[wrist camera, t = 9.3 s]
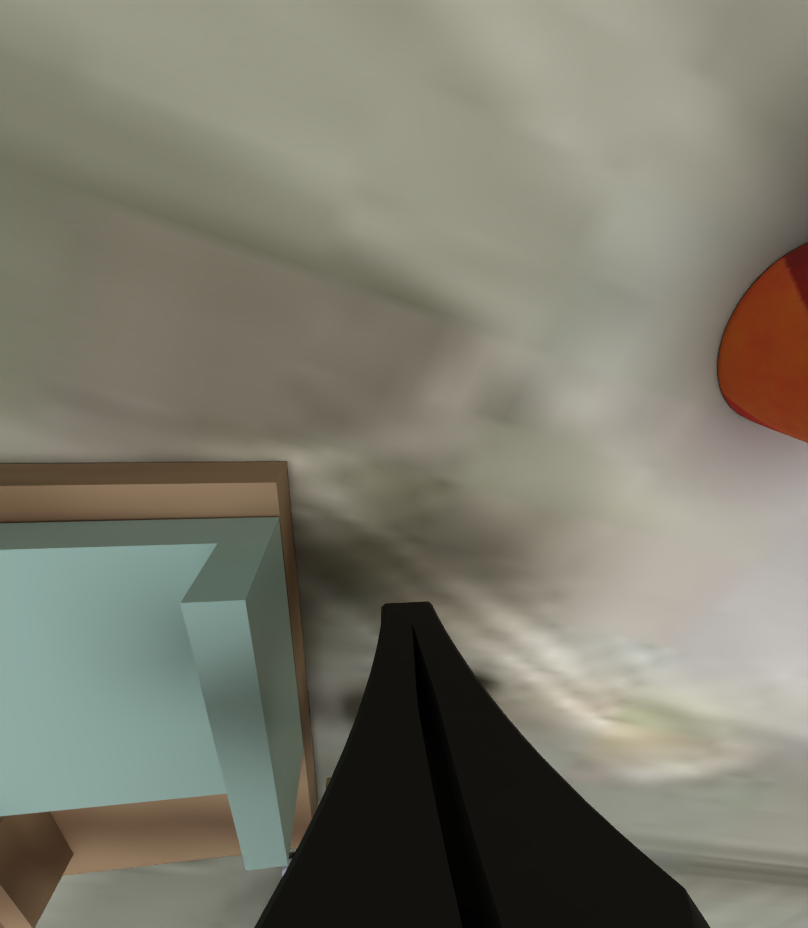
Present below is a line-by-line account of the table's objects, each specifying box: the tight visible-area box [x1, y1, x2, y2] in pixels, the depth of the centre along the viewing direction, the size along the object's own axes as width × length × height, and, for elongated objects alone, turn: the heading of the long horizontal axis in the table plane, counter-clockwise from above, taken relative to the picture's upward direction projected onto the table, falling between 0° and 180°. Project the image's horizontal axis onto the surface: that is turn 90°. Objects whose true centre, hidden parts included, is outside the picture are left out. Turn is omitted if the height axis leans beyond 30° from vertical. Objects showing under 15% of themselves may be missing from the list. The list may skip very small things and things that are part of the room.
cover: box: [0, 517, 303, 871], centre depth 10 cm, size 10×10×3 cm
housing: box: [0, 462, 318, 928], centre depth 12 cm, size 18×16×4 cm
